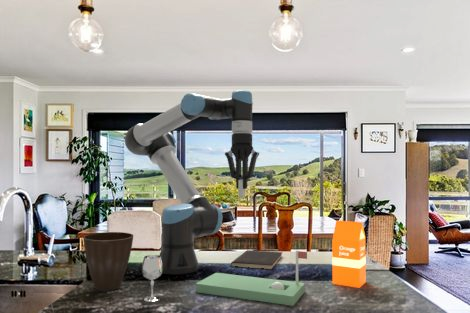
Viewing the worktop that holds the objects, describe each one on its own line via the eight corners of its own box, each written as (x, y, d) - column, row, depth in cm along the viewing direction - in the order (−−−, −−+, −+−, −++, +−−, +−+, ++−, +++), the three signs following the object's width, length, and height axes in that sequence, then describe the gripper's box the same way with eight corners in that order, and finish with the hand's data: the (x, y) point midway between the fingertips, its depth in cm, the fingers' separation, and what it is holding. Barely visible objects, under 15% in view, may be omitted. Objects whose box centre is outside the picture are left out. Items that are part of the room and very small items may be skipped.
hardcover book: (282, 257, 172) (282, 252, 172) (272, 270, 150) (272, 264, 150) (245, 255, 176) (245, 250, 177) (230, 267, 154) (230, 261, 154)
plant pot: (140, 282, 132) (141, 232, 133) (118, 296, 118) (119, 240, 118) (99, 279, 135) (99, 231, 136) (72, 293, 121) (73, 238, 121)
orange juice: (359, 288, 127) (359, 223, 128) (332, 283, 132) (331, 221, 132) (366, 282, 134) (365, 221, 134) (339, 278, 138) (339, 219, 139)
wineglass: (143, 296, 118) (143, 254, 118) (163, 295, 118) (163, 254, 119) (140, 302, 112) (140, 259, 113) (161, 302, 113) (161, 258, 113)
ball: (267, 295, 118) (270, 281, 118) (271, 291, 122) (274, 278, 122) (280, 299, 117) (283, 285, 117) (284, 295, 120) (286, 282, 120)
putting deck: (195, 291, 122) (195, 250, 123) (215, 280, 135) (216, 242, 135) (296, 306, 110) (296, 259, 110) (308, 291, 123) (308, 250, 123)
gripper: (221, 133, 148) (221, 197, 148) (255, 131, 143) (254, 199, 142) (229, 134, 155) (229, 196, 154) (262, 133, 150) (262, 197, 149)
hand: (241, 197), depth 148 cm, fingers closed
